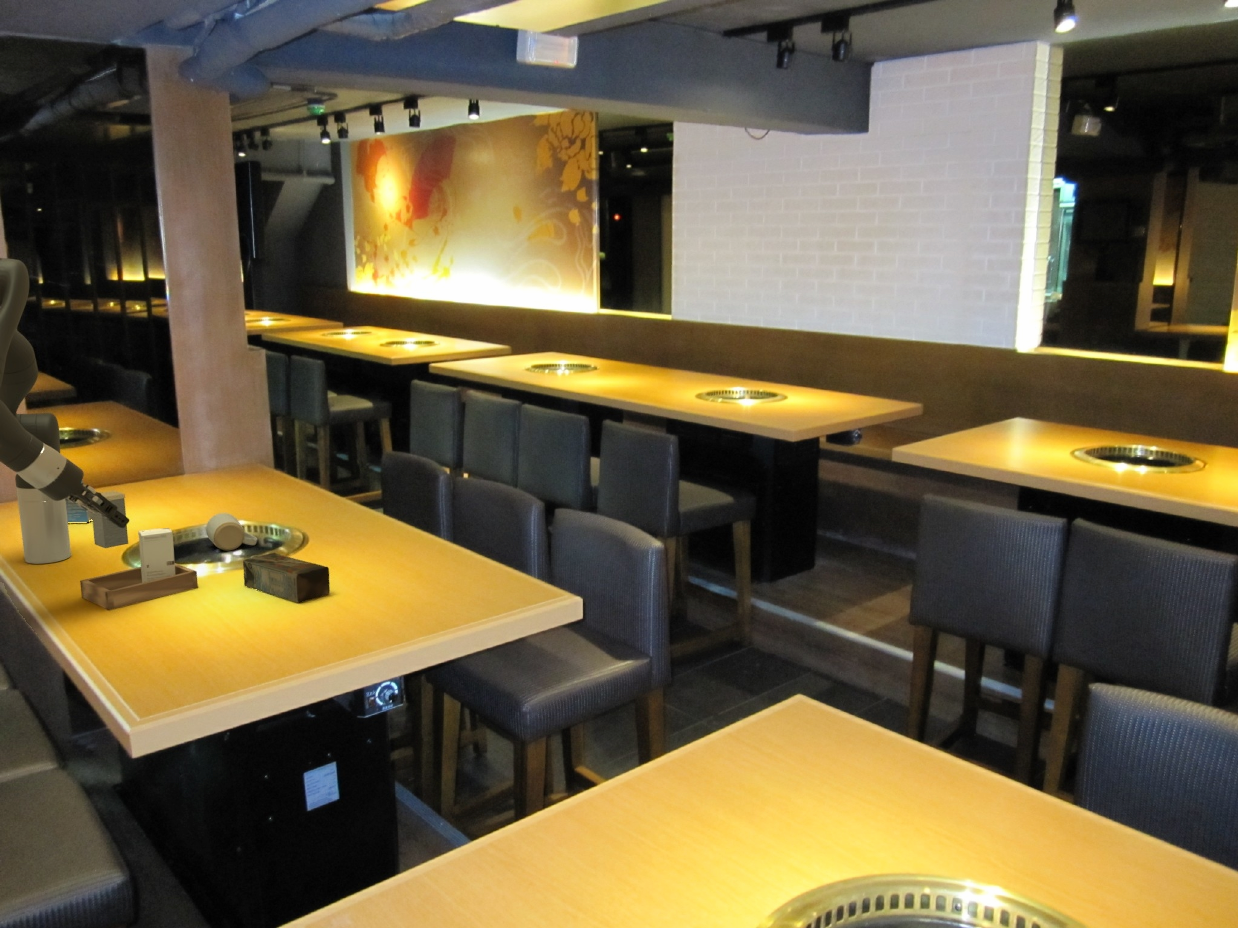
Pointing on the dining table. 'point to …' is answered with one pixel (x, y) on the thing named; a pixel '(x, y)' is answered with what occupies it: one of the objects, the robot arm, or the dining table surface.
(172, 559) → the skincare box
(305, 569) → the beverage carton
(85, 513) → the label tape cartridge
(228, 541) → the ceramic mug
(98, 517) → the tea tin
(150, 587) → the crate
